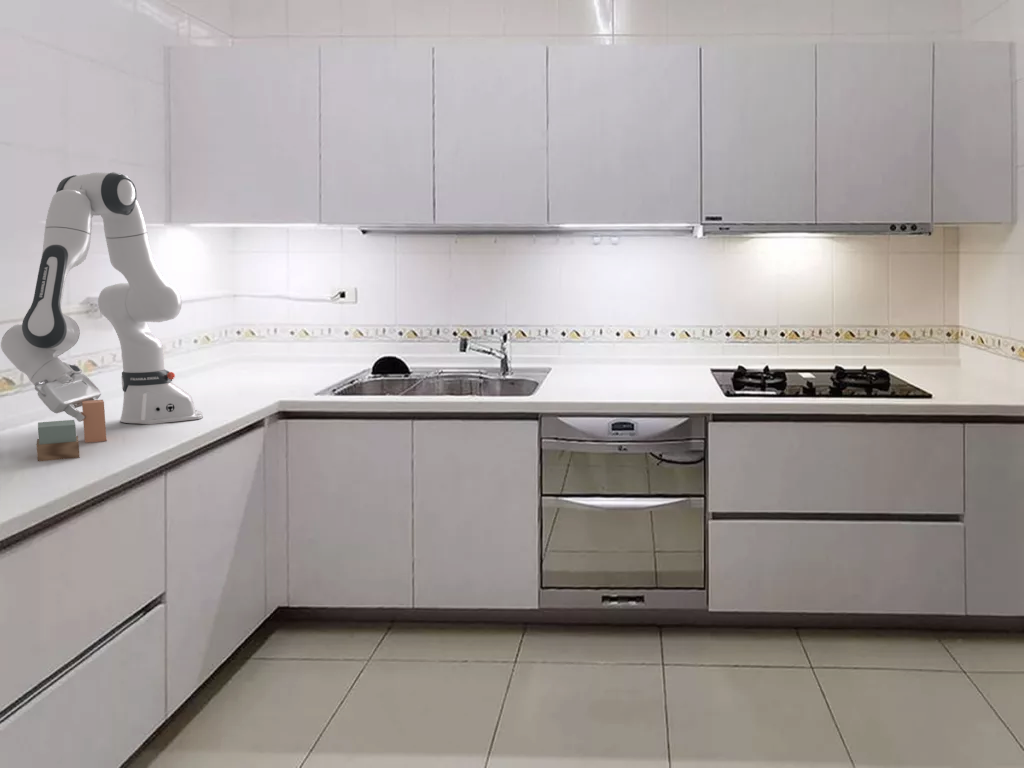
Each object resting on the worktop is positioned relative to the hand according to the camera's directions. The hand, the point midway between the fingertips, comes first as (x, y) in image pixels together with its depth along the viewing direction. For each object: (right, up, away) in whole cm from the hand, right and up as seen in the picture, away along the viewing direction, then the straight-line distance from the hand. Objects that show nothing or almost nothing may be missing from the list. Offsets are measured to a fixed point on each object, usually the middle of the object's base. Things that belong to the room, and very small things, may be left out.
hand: (92, 416), depth 268 cm
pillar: (0, -6, +1) cm, 6 cm away
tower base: (-1, -9, -19) cm, 21 cm away
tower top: (-1, -5, -19) cm, 20 cm away
